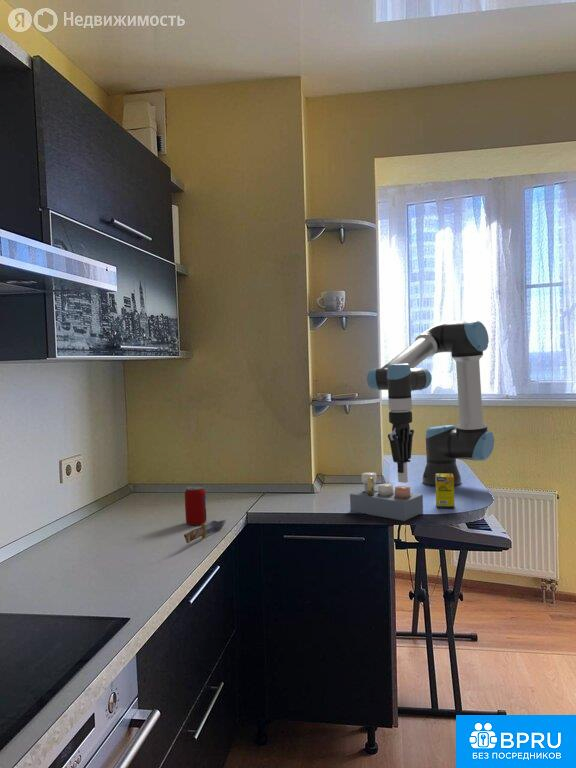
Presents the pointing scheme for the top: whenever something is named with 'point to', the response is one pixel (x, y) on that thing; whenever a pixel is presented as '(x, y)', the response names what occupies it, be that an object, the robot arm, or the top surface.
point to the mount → (387, 505)
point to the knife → (204, 530)
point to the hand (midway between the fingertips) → (403, 481)
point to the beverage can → (195, 505)
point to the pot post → (370, 486)
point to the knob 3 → (402, 492)
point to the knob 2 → (385, 489)
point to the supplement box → (444, 490)
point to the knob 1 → (365, 482)
